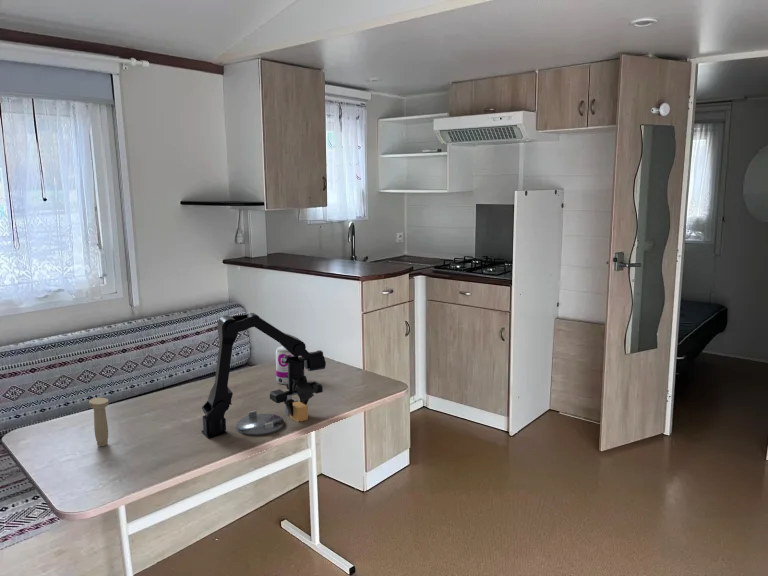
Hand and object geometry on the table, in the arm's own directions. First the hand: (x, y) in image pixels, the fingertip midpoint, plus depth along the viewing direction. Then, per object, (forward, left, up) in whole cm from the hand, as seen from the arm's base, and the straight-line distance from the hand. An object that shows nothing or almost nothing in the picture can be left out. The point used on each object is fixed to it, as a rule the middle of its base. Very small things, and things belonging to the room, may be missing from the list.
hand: (297, 414), depth 212 cm
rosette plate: (-14, +1, -1) cm, 14 cm away
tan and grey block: (0, 0, -1) cm, 1 cm away
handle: (-61, +18, -1) cm, 64 cm away
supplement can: (+15, +36, -1) cm, 39 cm away
